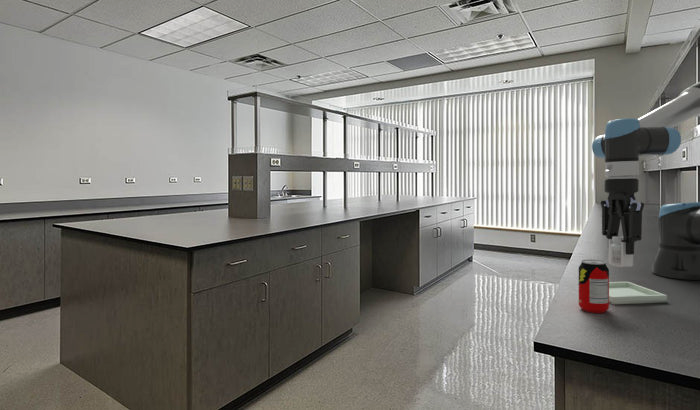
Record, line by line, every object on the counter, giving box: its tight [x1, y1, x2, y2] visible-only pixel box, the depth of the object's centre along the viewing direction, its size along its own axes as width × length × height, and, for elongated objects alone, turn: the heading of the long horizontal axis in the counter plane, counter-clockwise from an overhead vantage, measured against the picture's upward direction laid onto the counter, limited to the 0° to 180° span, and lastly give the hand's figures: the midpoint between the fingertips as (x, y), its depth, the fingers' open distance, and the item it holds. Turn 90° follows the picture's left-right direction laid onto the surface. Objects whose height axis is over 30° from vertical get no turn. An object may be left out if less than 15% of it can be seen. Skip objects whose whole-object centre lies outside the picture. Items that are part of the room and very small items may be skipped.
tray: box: [609, 281, 668, 305], centre depth 108 cm, size 14×14×2 cm
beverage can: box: [578, 259, 610, 314], centre depth 97 cm, size 6×6×12 cm
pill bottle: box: [609, 235, 624, 268], centre depth 108 cm, size 4×4×8 cm
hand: (620, 264), depth 108 cm, fingers closed on pill bottle, 4 cm apart
